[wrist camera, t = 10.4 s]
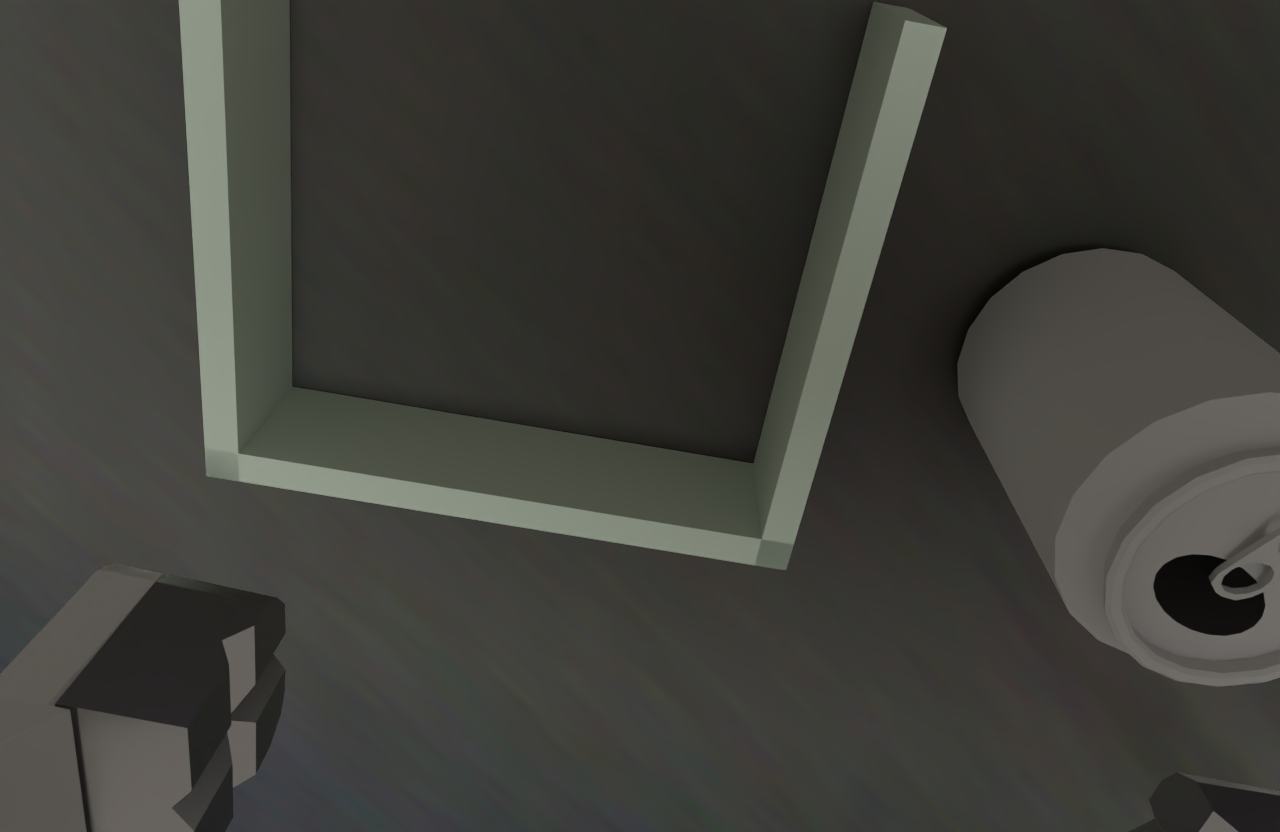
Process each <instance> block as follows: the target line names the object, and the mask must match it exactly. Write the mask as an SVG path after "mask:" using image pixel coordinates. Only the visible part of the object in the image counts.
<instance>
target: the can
mask: <svg viewBox="0 0 1280 832" xmlns="http://www.w3.org/2000/svg"><path fill="white" fill-rule="evenodd" d="M957 371H958V397H959V399H960V401H961V404H962V406H963V408H964V410H965V413H966V415H967V417H968V420H969V422H970V424H971V426H972V428H973V430H974V432H975V434H976V436H977V438H978V440H979V442H980V443H981V445H982V447H983V449H984V451H985V453H986V455H987V457H988V459H989V461H990V463H991V464H992V466H993V468H994V470H995V472H996V474H997V476H998V478H999V480H1000V482H1001V483H1002V485H1003V487H1004V489H1005V491H1006V493H1007V495H1008V497H1009V499H1010V501H1011V503H1012V504H1013V506H1014V508H1015V510H1016V512H1017V514H1018V516H1019V518H1020V520H1021V522H1022V524H1023V525H1024V527H1025V529H1026V531H1027V533H1028V535H1029V537H1030V539H1031V541H1032V543H1033V545H1034V546H1035V548H1036V550H1037V552H1038V554H1039V556H1040V558H1041V560H1042V562H1043V564H1044V565H1045V567H1046V569H1047V571H1048V573H1049V575H1050V577H1051V579H1052V581H1053V583H1054V585H1055V586H1056V588H1057V590H1058V592H1059V594H1060V596H1061V598H1062V600H1063V602H1064V604H1065V606H1066V607H1067V609H1068V611H1069V613H1070V614H1071V615H1072V616H1073V617H1074V618H1075V619H1076V620H1077V621H1078V622H1079V623H1080V624H1081V625H1082V626H1084V627H1085V628H1086V629H1087V630H1088V631H1089V632H1090V633H1091V634H1092V635H1093V636H1094V637H1095V638H1096V639H1097V640H1099V641H1101V642H1103V643H1105V644H1108V645H1110V646H1112V647H1115V648H1117V649H1119V650H1121V651H1124V652H1126V653H1128V654H1130V655H1131V656H1132V657H1133V658H1134V659H1135V660H1136V661H1137V662H1138V663H1139V664H1140V665H1142V666H1143V667H1146V668H1148V669H1150V670H1153V671H1155V672H1157V673H1159V674H1162V675H1164V676H1166V677H1168V678H1171V679H1173V680H1175V681H1180V682H1187V683H1195V684H1202V685H1209V686H1217V687H1220V686H1230V685H1240V684H1251V683H1261V682H1267V681H1270V680H1273V679H1277V678H1280V353H1278V352H1277V351H1276V350H1275V349H1273V348H1272V347H1271V346H1270V345H1268V344H1267V343H1266V342H1264V341H1263V340H1262V339H1261V338H1259V337H1258V336H1257V335H1255V334H1254V333H1253V332H1252V331H1250V330H1249V329H1248V328H1247V327H1245V326H1244V325H1243V324H1241V323H1240V322H1239V321H1238V320H1236V319H1235V318H1234V317H1232V316H1231V315H1230V314H1229V313H1227V312H1226V311H1225V310H1224V309H1222V308H1221V307H1220V306H1218V305H1217V304H1216V303H1215V302H1213V301H1212V300H1211V299H1209V298H1208V297H1207V296H1206V295H1204V294H1203V293H1202V292H1201V291H1199V290H1198V289H1197V288H1195V287H1194V286H1193V285H1192V284H1190V283H1189V282H1188V281H1186V280H1185V279H1184V278H1183V277H1181V276H1180V275H1179V274H1178V273H1176V272H1175V271H1174V270H1172V269H1170V268H1168V267H1166V266H1164V265H1162V264H1160V263H1158V262H1156V261H1155V260H1153V259H1151V258H1149V257H1147V256H1145V255H1143V254H1140V253H1133V252H1126V251H1119V250H1112V249H1105V248H1101V249H1094V250H1087V251H1081V252H1074V253H1068V254H1062V255H1059V256H1057V257H1055V258H1053V259H1050V260H1048V261H1046V262H1044V263H1041V264H1039V265H1037V266H1035V267H1032V268H1030V269H1028V270H1026V271H1023V272H1022V273H1021V274H1019V275H1018V276H1017V277H1016V278H1014V279H1013V280H1012V281H1011V282H1010V283H1008V284H1007V285H1006V286H1005V287H1003V288H1002V289H1001V290H1000V291H998V292H997V293H996V294H995V295H994V296H992V297H991V298H990V299H989V301H988V302H987V304H986V305H985V306H984V308H983V309H982V311H981V312H980V314H979V315H978V316H977V318H976V319H975V321H974V322H973V323H972V325H971V326H970V328H969V329H968V332H967V335H966V338H965V341H964V344H963V347H962V350H961V353H960V357H959V360H958V363H957Z"/></svg>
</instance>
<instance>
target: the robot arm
mask: <svg viewBox="0 0 1280 832" xmlns="http://www.w3.org/2000/svg"><path fill="white" fill-rule="evenodd" d="M285 633H286V630H285V604H284V603H283V602H282V601H281V600H279V599H278V598H276V597H271V596H267V595H262V594H258V593H253V592H248V591H244V590H239V589H235V588H230V587H226V586H221V585H216V584H212V583H207V582H203V581H198V580H194V579H189V578H184V577H180V576H175V575H171V574H170V575H164V574H159V573H155V572H151V571H146V570H142V569H137V568H133V567H129V566H124V565H120V564H115V563H113V564H111V565H109V566H106V567H104V568H102V569H99V570H98V571H96V572H95V573H94V574H93V575H92V576H91V577H90V578H89V579H88V581H87V582H86V583H85V584H84V585H83V586H82V587H81V588H80V589H79V590H78V591H77V592H76V593H75V594H74V595H73V597H72V598H71V599H70V600H69V601H68V602H67V603H66V604H65V605H64V606H63V607H62V608H61V609H60V610H59V611H58V613H57V614H56V615H55V616H54V617H53V618H52V619H51V620H50V621H49V622H48V623H47V624H46V625H45V626H44V627H43V629H42V630H41V631H40V632H39V633H38V634H37V635H36V636H35V637H34V638H33V639H32V640H31V641H30V642H29V644H28V645H27V646H26V647H25V648H24V649H23V650H22V651H21V652H20V653H19V654H18V655H17V656H16V657H15V658H14V660H13V661H12V662H11V663H10V664H9V665H8V666H7V667H6V668H5V669H4V670H3V671H2V672H1V673H0V832H225V831H226V829H227V827H228V825H229V823H230V822H231V820H232V818H233V788H234V787H235V786H237V785H239V784H240V783H242V782H244V781H245V780H247V779H248V778H250V777H252V776H253V775H255V774H256V773H257V771H258V769H259V767H260V765H261V763H262V761H263V759H264V757H265V755H266V753H267V751H268V749H269V747H270V744H271V741H272V739H273V736H274V733H275V730H276V727H277V724H278V721H279V718H280V715H281V709H282V703H283V697H284V691H285V669H284V668H283V666H282V665H281V664H280V662H279V661H278V660H277V658H276V657H275V656H274V654H273V653H274V652H275V650H276V648H277V647H278V645H279V643H280V641H281V640H282V638H283V636H284V634H285ZM1149 800H1150V804H1151V807H1152V810H1153V814H1154V817H1155V819H1153V820H1151V821H1149V822H1147V823H1145V824H1143V825H1141V826H1139V827H1137V828H1135V829H1133V830H1131V831H1129V832H1280V791H1277V790H1272V789H1267V788H1261V787H1256V786H1250V785H1245V784H1240V783H1234V782H1229V781H1223V780H1218V779H1213V778H1207V777H1202V776H1196V775H1191V774H1185V773H1180V772H1176V773H1174V774H1173V775H1171V776H1169V777H1167V778H1166V779H1164V780H1162V781H1161V783H1160V784H1159V786H1158V787H1157V789H1156V790H1155V792H1154V793H1153V795H1152V796H1151V797H1150V799H1149Z"/></svg>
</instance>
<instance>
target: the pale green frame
mask: <svg viewBox="0 0 1280 832" xmlns="http://www.w3.org/2000/svg"><path fill="white" fill-rule="evenodd" d="M179 12H180V29H181V46H182V63H183V81H184V98H185V115H186V132H187V150H188V167H189V184H190V201H191V219H192V236H193V253H194V271H195V288H196V305H197V322H198V340H199V357H200V374H201V391H202V409H203V426H204V443H205V460H206V476H210V477H216V478H222V479H228V480H234V481H240V482H247V483H253V484H259V485H265V486H271V487H277V488H283V489H290V490H296V491H302V492H308V493H314V494H320V495H326V496H332V497H339V498H345V499H351V500H357V501H363V502H369V503H375V504H382V505H388V506H394V507H400V508H406V509H412V510H418V511H425V512H431V513H437V514H443V515H449V516H455V517H461V518H467V519H474V520H480V521H486V522H492V523H498V524H504V525H510V526H517V527H523V528H529V529H535V530H541V531H547V532H553V533H559V534H566V535H572V536H578V537H584V538H590V539H596V540H602V541H609V542H615V543H621V544H627V545H633V546H639V547H645V548H652V549H658V550H664V551H670V552H676V553H682V554H688V555H694V556H701V557H707V558H713V559H719V560H725V561H731V562H737V563H744V564H750V565H756V566H762V567H768V568H774V569H780V570H786V569H787V565H788V562H789V559H790V555H791V552H792V549H793V545H794V542H795V539H796V535H797V532H798V528H799V525H800V522H801V518H802V515H803V512H804V508H805V505H806V502H807V498H808V495H809V491H810V488H811V485H812V481H813V478H814V475H815V471H816V468H817V465H818V461H819V458H820V454H821V451H822V448H823V444H824V441H825V438H826V434H827V431H828V427H829V424H830V421H831V417H832V414H833V411H834V407H835V404H836V401H837V397H838V394H839V390H840V387H841V384H842V380H843V377H844V374H845V370H846V367H847V364H848V360H849V357H850V353H851V350H852V347H853V343H854V340H855V337H856V333H857V330H858V326H859V323H860V320H861V316H862V313H863V310H864V306H865V303H866V300H867V296H868V293H869V289H870V286H871V283H872V279H873V276H874V273H875V269H876V266H877V263H878V259H879V256H880V252H881V249H882V246H883V242H884V239H885V236H886V232H887V229H888V226H889V222H890V219H891V215H892V212H893V209H894V205H895V202H896V199H897V195H898V192H899V188H900V185H901V182H902V178H903V175H904V172H905V168H906V165H907V162H908V158H909V155H910V151H911V148H912V145H913V141H914V138H915V135H916V131H917V128H918V125H919V121H920V118H921V114H922V111H923V108H924V104H925V101H926V98H927V94H928V91H929V87H930V84H931V81H932V77H933V74H934V71H935V67H936V64H937V61H938V57H939V54H940V50H941V47H942V44H943V40H944V37H945V34H946V30H947V28H946V27H944V26H942V25H940V24H938V23H936V22H934V21H932V20H931V19H929V18H927V17H925V16H923V15H921V14H919V13H917V12H915V11H913V10H911V9H910V8H905V7H900V6H894V5H889V4H884V3H878V2H873V5H872V9H871V12H870V16H869V20H868V24H867V28H866V32H865V36H864V39H863V43H862V47H861V51H860V55H859V59H858V62H857V66H856V70H855V74H854V78H853V82H852V86H851V89H850V93H849V97H848V101H847V105H846V109H845V113H844V116H843V120H842V124H841V128H840V132H839V136H838V139H837V143H836V147H835V151H834V155H833V159H832V163H831V166H830V170H829V174H828V178H827V182H826V186H825V190H824V193H823V197H822V201H821V205H820V209H819V213H818V216H817V220H816V224H815V228H814V232H813V236H812V240H811V243H810V247H809V251H808V255H807V259H806V263H805V267H804V270H803V274H802V278H801V282H800V286H799V290H798V294H797V297H796V301H795V305H794V309H793V313H792V317H791V320H790V324H789V328H788V332H787V336H786V340H785V344H784V347H783V351H782V355H781V359H780V363H779V367H778V371H777V374H776V378H775V382H774V386H773V390H772V394H771V397H770V401H769V405H768V409H767V413H766V417H765V421H764V424H763V428H762V432H761V436H760V440H759V444H758V448H757V451H756V455H755V459H754V463H748V462H742V461H736V460H730V459H724V458H718V457H712V456H706V455H700V454H694V453H688V452H682V451H676V450H670V449H664V448H658V447H652V446H646V445H640V444H634V443H628V442H622V441H616V440H610V439H604V438H598V437H592V436H586V435H580V434H574V433H568V432H562V431H556V430H550V429H544V428H538V427H532V426H526V425H520V424H514V423H508V422H502V421H496V420H490V419H484V418H478V417H472V416H466V415H460V414H454V413H448V412H442V411H436V410H430V409H424V408H418V407H412V406H406V405H400V404H394V403H388V402H382V401H376V400H370V399H364V398H358V397H352V396H346V395H340V394H334V393H328V392H322V391H316V390H310V389H304V388H298V387H292V255H291V118H290V0H179Z"/></svg>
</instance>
